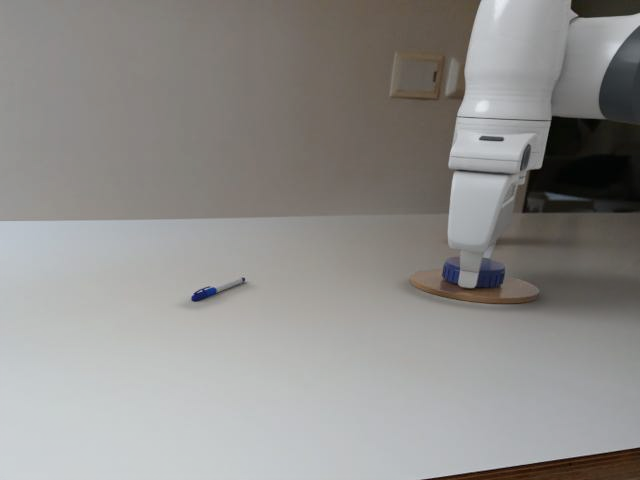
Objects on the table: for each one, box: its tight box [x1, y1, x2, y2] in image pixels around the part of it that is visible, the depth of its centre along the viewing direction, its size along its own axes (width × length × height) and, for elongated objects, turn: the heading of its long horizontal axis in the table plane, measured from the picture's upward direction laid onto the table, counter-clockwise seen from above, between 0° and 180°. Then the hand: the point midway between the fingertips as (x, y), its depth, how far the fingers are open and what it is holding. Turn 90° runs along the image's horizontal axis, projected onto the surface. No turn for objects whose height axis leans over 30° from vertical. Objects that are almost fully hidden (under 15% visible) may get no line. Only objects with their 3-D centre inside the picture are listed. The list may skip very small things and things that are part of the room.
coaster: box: [410, 268, 540, 305], centre depth 81 cm, size 13×13×1 cm
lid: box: [442, 256, 506, 288], centre depth 80 cm, size 6×6×2 cm
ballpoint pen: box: [190, 277, 246, 302], centre depth 76 cm, size 10×1×1 cm, turn 147°
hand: (473, 279), depth 81 cm, fingers closed on lid, 6 cm apart
